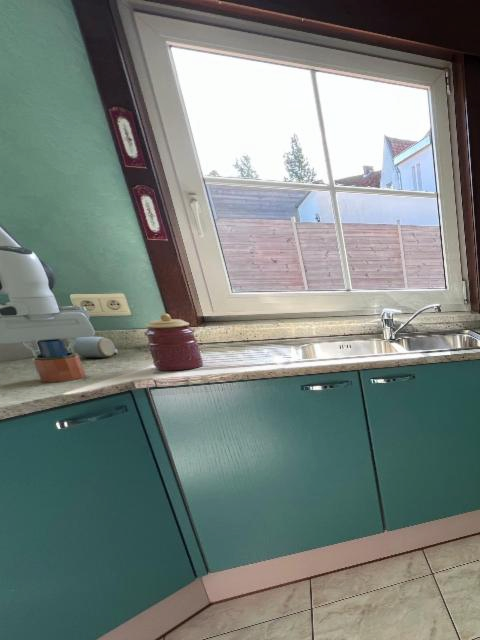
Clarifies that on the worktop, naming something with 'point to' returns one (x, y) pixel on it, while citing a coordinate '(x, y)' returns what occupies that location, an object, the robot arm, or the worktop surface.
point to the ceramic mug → (94, 347)
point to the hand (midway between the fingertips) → (54, 355)
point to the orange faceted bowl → (59, 368)
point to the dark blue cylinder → (52, 348)
